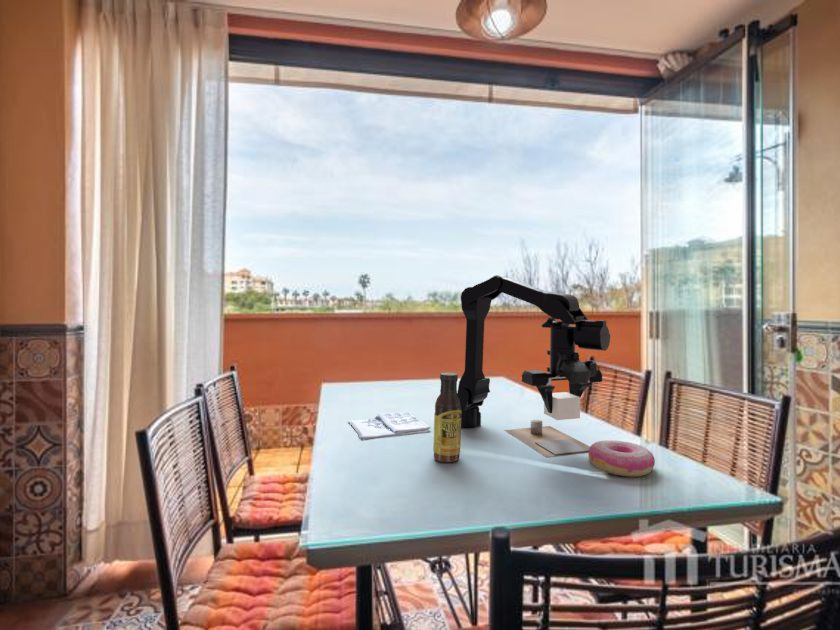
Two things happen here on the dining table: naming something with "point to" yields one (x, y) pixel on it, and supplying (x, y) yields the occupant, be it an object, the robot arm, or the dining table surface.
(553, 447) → the post stand
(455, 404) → the sauce bottle
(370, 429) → the open sketchbook
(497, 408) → the dining table surface
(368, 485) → the dining table surface
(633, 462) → the donut
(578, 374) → the robot arm
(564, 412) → the off-white cube box
